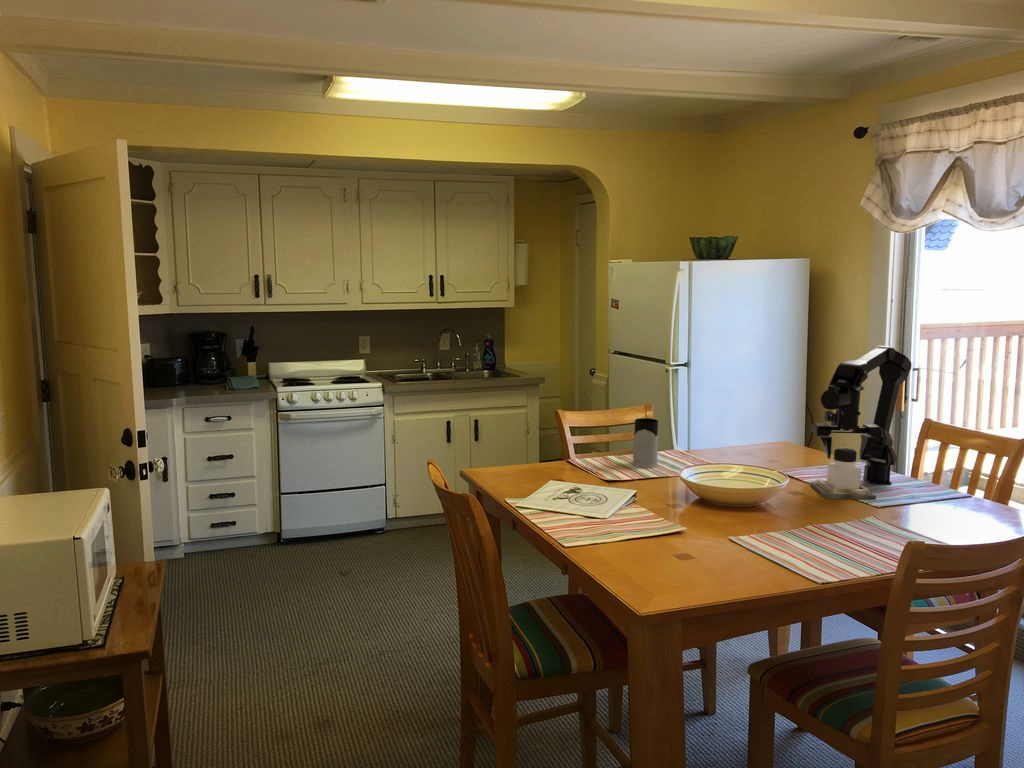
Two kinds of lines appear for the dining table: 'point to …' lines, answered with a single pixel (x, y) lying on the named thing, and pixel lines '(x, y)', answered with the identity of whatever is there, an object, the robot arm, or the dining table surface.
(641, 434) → the glass holder
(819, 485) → the grey square tray
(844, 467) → the medicine bottle
